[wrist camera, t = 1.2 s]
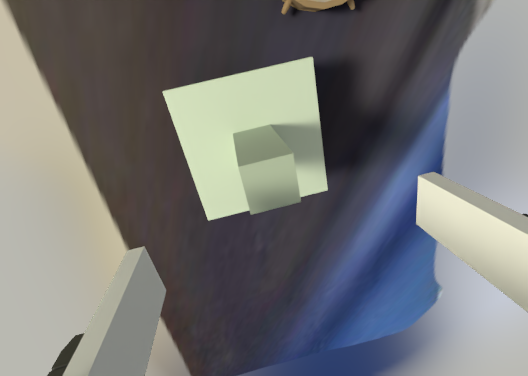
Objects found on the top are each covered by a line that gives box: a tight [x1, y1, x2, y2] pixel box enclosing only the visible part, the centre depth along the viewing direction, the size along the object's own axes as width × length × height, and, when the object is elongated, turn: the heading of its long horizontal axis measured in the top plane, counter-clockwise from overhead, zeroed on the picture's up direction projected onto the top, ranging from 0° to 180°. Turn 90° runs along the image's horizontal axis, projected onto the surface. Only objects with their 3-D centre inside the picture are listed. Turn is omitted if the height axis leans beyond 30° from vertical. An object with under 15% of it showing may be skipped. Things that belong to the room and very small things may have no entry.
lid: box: [163, 57, 328, 221], centre depth 22 cm, size 13×13×10 cm
